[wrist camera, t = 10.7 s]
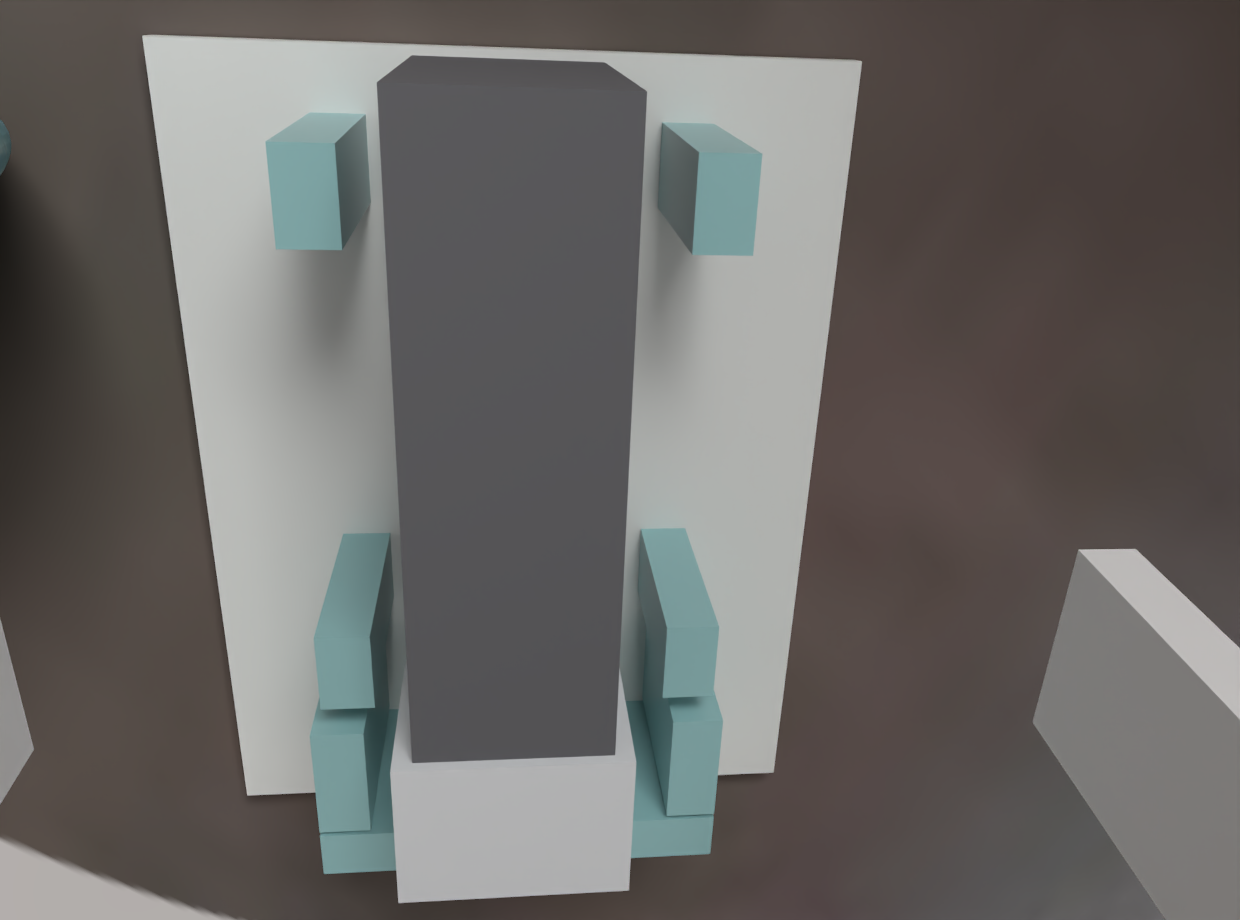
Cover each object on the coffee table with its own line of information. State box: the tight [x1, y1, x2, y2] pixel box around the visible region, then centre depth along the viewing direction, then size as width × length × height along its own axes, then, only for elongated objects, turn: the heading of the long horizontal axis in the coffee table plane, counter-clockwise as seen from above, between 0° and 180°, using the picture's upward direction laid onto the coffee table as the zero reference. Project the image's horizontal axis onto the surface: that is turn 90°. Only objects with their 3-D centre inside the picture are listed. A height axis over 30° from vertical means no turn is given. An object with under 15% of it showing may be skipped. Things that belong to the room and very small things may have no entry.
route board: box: [142, 35, 862, 874], centre depth 21 cm, size 17×13×4 cm
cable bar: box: [377, 55, 647, 903], centre depth 19 cm, size 14×4×6 cm, turn 178°
